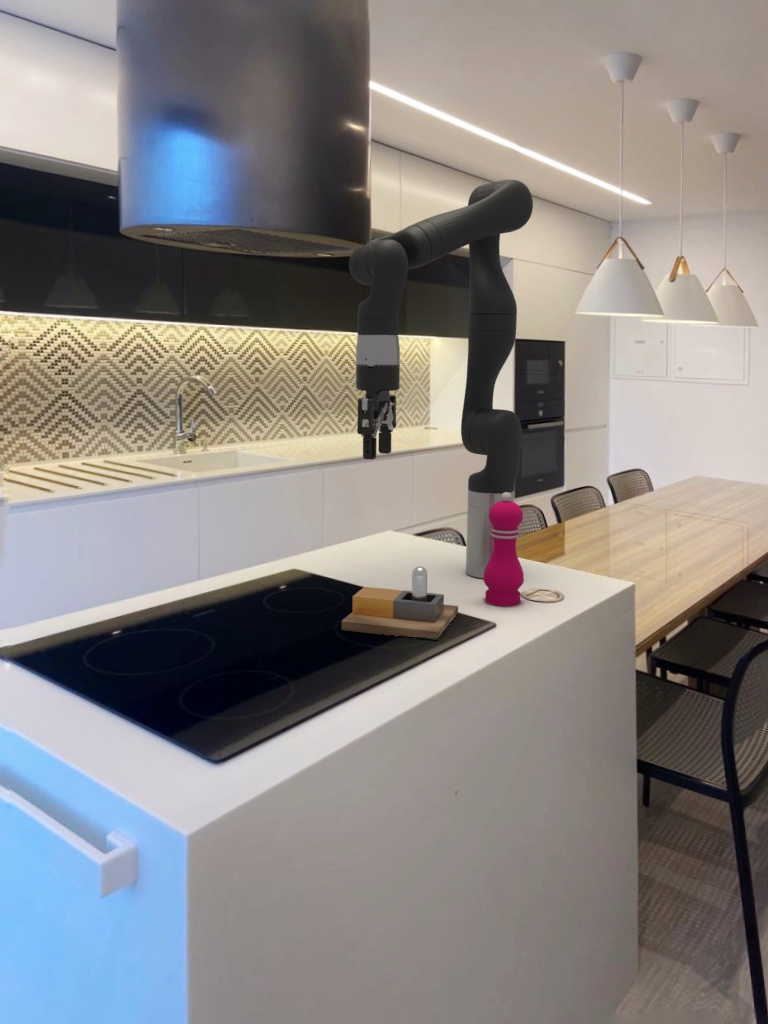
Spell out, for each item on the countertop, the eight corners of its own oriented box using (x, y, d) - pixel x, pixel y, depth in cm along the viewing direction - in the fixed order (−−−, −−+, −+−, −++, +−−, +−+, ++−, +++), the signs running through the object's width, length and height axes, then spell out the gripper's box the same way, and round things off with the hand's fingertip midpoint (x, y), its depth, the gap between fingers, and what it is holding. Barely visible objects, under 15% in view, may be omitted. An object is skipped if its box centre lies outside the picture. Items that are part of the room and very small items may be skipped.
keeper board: (369, 605, 145) (369, 597, 145) (457, 614, 141) (458, 605, 140) (341, 630, 132) (341, 621, 132) (437, 641, 127) (438, 631, 127)
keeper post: (413, 612, 137) (414, 564, 135) (428, 613, 136) (429, 565, 134) (409, 616, 134) (410, 567, 133) (424, 618, 134) (425, 569, 132)
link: (364, 603, 141) (364, 586, 141) (443, 611, 137) (443, 594, 137) (352, 613, 136) (352, 596, 135) (434, 622, 131) (435, 604, 131)
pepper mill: (522, 608, 144) (526, 496, 140) (480, 606, 145) (484, 494, 141) (523, 597, 151) (527, 489, 147) (484, 594, 152) (487, 488, 148)
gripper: (370, 361, 149) (370, 450, 152) (342, 362, 135) (343, 460, 139) (410, 362, 147) (409, 452, 150) (386, 363, 133) (385, 462, 136)
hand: (377, 456), depth 144 cm, fingers open, 8 cm apart
